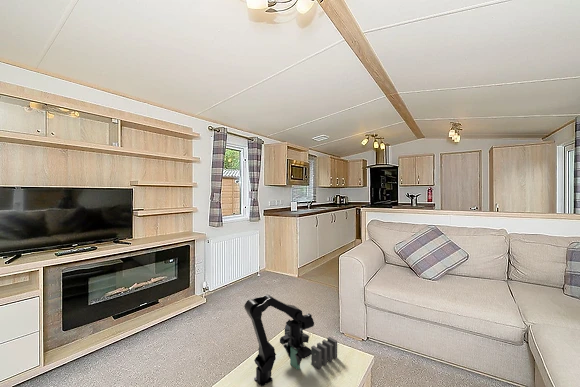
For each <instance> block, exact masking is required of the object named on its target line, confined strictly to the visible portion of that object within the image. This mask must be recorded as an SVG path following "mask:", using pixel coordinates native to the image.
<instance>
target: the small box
mask: <svg viewBox="0 0 580 387" xmlns="http://www.w3.org/2000/svg"><path fill="white" fill-rule="evenodd" d="M301 331H302V332H303V333H304V330H303V329H302V328H301ZM289 333H290V327H289V326H288V325H287V324H285V327H284V335H287V334H289ZM300 346H302V347H304V343H303V344H302V345H300Z"/></svg>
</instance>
